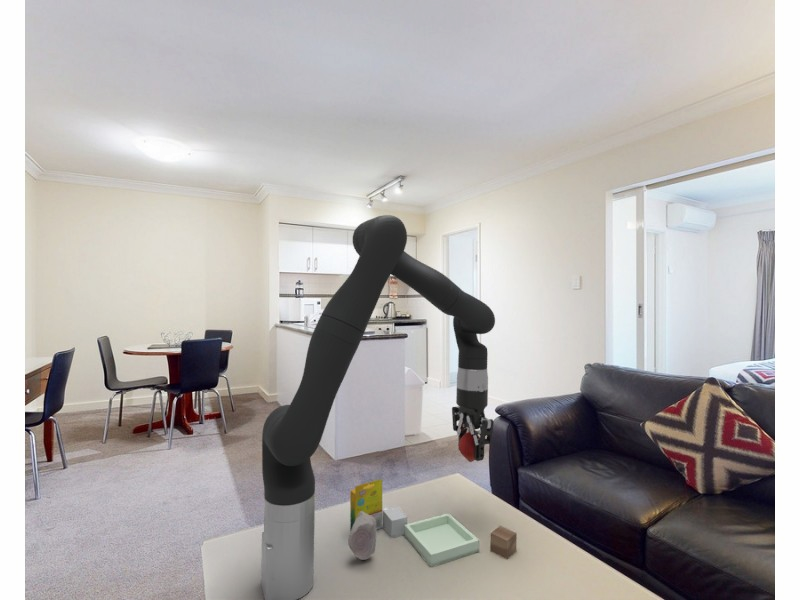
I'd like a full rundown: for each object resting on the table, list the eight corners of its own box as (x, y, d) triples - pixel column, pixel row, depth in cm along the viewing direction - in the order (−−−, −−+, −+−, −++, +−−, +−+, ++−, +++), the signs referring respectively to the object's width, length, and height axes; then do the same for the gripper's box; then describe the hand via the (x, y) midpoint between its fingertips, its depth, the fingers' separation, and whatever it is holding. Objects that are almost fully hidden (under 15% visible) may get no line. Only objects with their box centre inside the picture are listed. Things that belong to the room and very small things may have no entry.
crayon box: (376, 522, 97) (377, 474, 97) (383, 528, 95) (383, 478, 95) (349, 531, 93) (350, 481, 93) (355, 537, 91) (355, 486, 91)
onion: (481, 457, 100) (482, 425, 100) (484, 467, 94) (484, 433, 94) (458, 456, 100) (458, 424, 101) (459, 465, 95) (459, 431, 95)
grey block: (391, 538, 91) (391, 520, 91) (382, 527, 95) (383, 510, 95) (407, 534, 93) (407, 516, 93) (397, 523, 97) (398, 506, 97)
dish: (431, 567, 81) (431, 554, 81) (404, 535, 92) (404, 524, 92) (479, 551, 86) (479, 540, 86) (448, 523, 97) (448, 513, 97)
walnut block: (507, 559, 84) (507, 540, 84) (490, 551, 86) (490, 532, 86) (516, 551, 87) (516, 532, 87) (499, 543, 89) (500, 525, 89)
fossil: (348, 568, 80) (349, 518, 80) (346, 557, 84) (347, 509, 84) (377, 563, 82) (377, 514, 82) (373, 553, 85) (374, 506, 85)
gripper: (443, 381, 102) (441, 447, 102) (477, 393, 89) (476, 469, 89) (467, 379, 106) (466, 443, 105) (504, 391, 93) (502, 463, 93)
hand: (470, 454), depth 97 cm, fingers closed on onion, 6 cm apart
